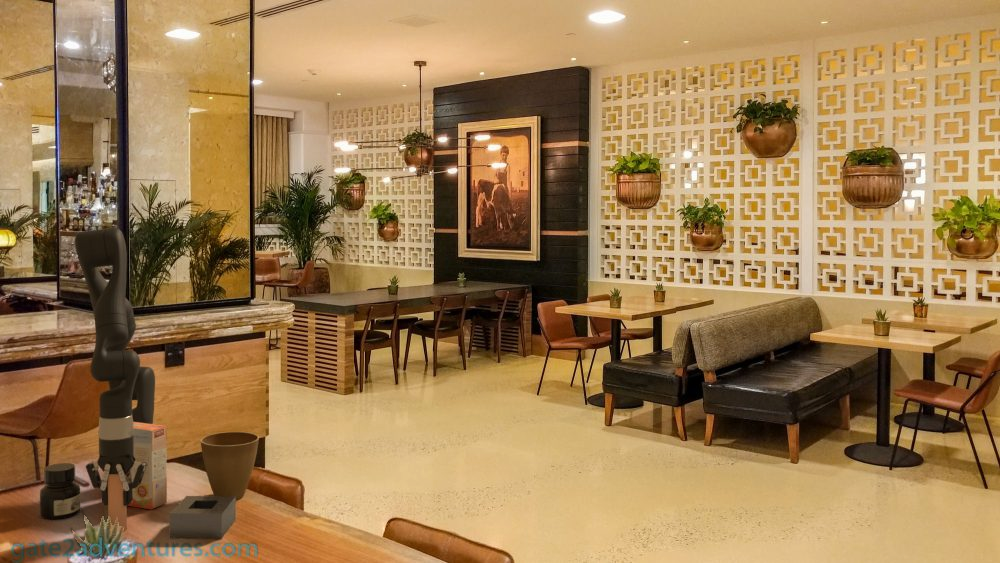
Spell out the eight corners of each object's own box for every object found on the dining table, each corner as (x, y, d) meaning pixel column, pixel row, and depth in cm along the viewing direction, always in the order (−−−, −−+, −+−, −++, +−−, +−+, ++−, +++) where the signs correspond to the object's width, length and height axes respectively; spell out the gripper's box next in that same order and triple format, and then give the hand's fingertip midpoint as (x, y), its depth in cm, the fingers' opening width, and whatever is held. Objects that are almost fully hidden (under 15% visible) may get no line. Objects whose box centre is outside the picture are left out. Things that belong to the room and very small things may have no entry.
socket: (186, 519, 206) (186, 495, 206) (235, 519, 207) (235, 496, 206) (169, 538, 194) (169, 513, 194) (221, 538, 195) (221, 513, 194)
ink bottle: (62, 522, 202) (61, 474, 201) (30, 519, 204) (29, 471, 203) (89, 508, 211) (88, 462, 210) (59, 505, 213) (58, 459, 212)
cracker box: (168, 503, 217) (167, 424, 215) (151, 510, 211) (150, 430, 209) (125, 496, 221) (124, 419, 220) (107, 503, 216) (107, 424, 214)
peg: (112, 526, 200) (111, 469, 199) (129, 526, 201) (128, 470, 199) (105, 532, 196) (104, 475, 195) (122, 533, 197) (122, 475, 195)
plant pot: (257, 504, 218) (257, 444, 217) (197, 507, 214) (197, 447, 213) (259, 485, 232) (260, 429, 231) (203, 488, 229) (203, 431, 227)
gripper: (152, 430, 201) (153, 499, 202) (92, 429, 200) (93, 498, 201) (140, 438, 193) (141, 510, 195) (78, 438, 192) (79, 510, 194)
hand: (117, 504), depth 198 cm, fingers closed on peg, 4 cm apart
